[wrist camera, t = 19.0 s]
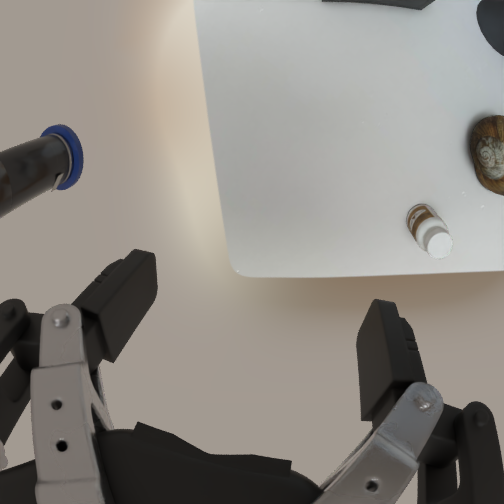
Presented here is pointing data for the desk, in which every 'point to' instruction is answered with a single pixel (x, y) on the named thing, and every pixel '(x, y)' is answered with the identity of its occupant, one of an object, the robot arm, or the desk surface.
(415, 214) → the pill bottle
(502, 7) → the mug
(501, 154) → the seashell
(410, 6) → the bin
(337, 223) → the desk surface
